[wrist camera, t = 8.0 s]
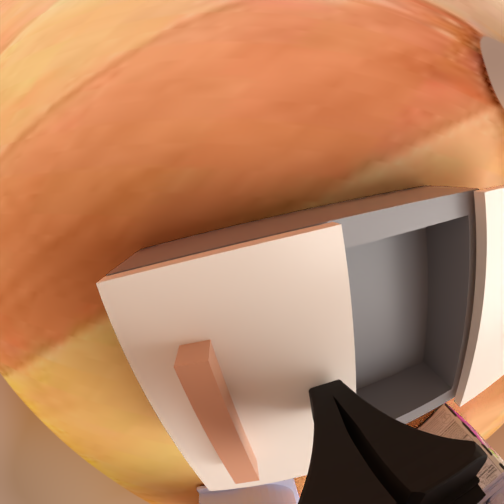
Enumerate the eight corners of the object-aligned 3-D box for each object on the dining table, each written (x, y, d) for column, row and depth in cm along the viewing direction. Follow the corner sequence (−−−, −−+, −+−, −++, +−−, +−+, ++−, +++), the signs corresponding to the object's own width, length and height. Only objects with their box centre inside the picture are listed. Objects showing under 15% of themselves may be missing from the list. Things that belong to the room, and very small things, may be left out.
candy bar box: (468, 420, 23) (531, 492, 7) (441, 447, 23) (496, 524, 7) (445, 398, 21) (531, 495, 5) (410, 432, 21) (481, 538, 5)
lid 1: (209, 481, 13) (209, 508, 11) (104, 276, 10) (79, 296, 8) (350, 451, 13) (362, 475, 11) (332, 221, 10) (358, 230, 8)
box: (210, 427, 18) (209, 478, 13) (140, 249, 15) (106, 274, 10) (426, 360, 19) (460, 393, 14) (425, 185, 16) (479, 188, 11)
